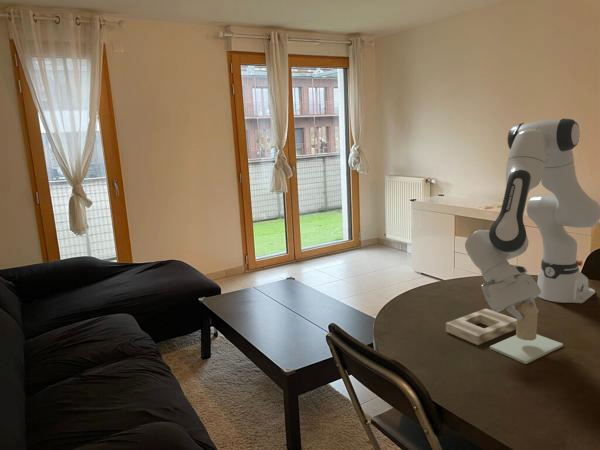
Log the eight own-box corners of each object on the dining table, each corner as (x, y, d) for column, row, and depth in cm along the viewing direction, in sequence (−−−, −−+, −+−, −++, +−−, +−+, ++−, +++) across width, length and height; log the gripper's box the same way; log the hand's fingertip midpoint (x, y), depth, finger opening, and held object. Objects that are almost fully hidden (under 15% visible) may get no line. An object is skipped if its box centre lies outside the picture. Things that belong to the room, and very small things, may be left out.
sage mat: (526, 332, 151) (526, 330, 151) (562, 346, 141) (563, 343, 141) (489, 348, 142) (489, 346, 142) (525, 364, 132) (525, 361, 132)
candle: (538, 341, 137) (540, 309, 135) (518, 340, 139) (519, 308, 137) (533, 333, 143) (534, 302, 141) (514, 332, 144) (515, 301, 142)
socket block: (485, 316, 165) (485, 308, 165) (518, 328, 154) (518, 319, 154) (445, 331, 156) (445, 322, 155) (477, 345, 145) (477, 336, 144)
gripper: (485, 279, 138) (513, 320, 131) (528, 265, 148) (556, 303, 141) (472, 289, 142) (499, 330, 136) (514, 275, 152) (541, 313, 146)
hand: (528, 316), depth 139 cm, fingers closed on candle, 5 cm apart
